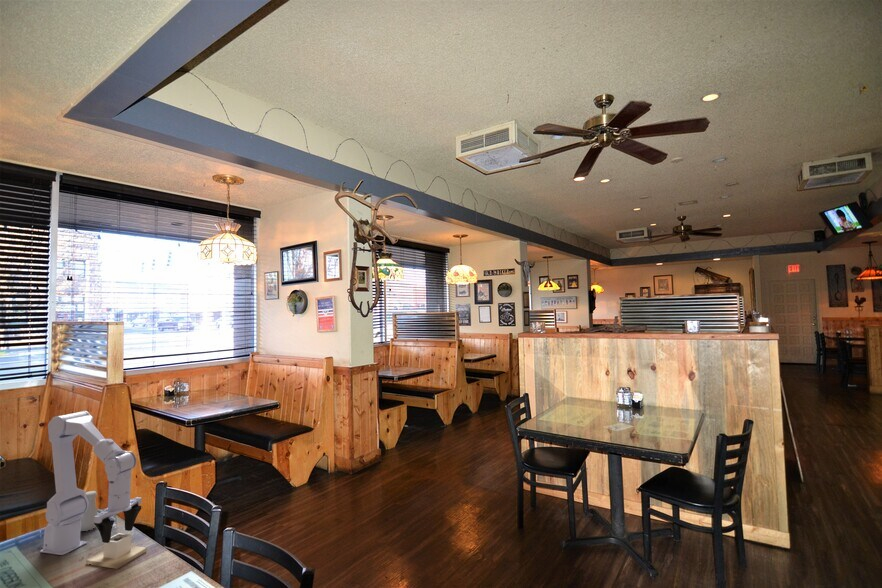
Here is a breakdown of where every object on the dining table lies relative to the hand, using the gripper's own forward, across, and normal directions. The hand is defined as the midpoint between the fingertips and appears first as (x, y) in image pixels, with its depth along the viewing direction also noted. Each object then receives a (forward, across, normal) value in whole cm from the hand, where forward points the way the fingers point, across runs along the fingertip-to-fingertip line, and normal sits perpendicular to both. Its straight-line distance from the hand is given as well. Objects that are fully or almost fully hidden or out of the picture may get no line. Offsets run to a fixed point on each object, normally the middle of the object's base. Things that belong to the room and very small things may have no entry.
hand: (117, 536), depth 138 cm
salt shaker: (+7, +13, +28) cm, 32 cm away
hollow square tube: (+6, 0, 0) cm, 6 cm away
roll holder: (+7, 0, 0) cm, 7 cm away
